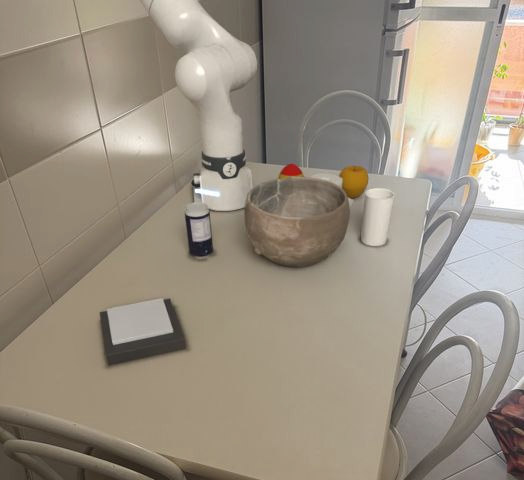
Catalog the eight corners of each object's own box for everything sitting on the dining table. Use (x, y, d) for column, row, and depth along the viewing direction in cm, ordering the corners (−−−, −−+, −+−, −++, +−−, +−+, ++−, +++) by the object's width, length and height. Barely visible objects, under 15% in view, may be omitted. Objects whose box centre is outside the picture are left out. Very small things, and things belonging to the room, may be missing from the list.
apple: (348, 205, 138) (351, 174, 133) (330, 195, 144) (333, 164, 138) (372, 198, 141) (376, 168, 136) (354, 189, 147) (357, 159, 142)
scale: (102, 321, 98) (98, 308, 96) (171, 308, 101) (169, 295, 99) (108, 365, 87) (104, 352, 85) (185, 348, 91) (183, 335, 89)
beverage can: (217, 250, 119) (213, 203, 112) (207, 261, 115) (202, 213, 108) (195, 247, 121) (190, 200, 113) (185, 258, 117) (179, 210, 109)
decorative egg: (296, 206, 138) (297, 171, 132) (271, 201, 142) (271, 166, 135) (309, 196, 143) (311, 162, 137) (285, 191, 147) (286, 157, 140)
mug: (383, 248, 119) (391, 201, 111) (356, 244, 121) (362, 197, 113) (392, 231, 126) (399, 185, 118) (366, 227, 128) (372, 181, 120)
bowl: (227, 270, 112) (223, 207, 103) (266, 225, 129) (265, 168, 120) (330, 290, 105) (335, 224, 95) (356, 240, 122) (363, 180, 113)
